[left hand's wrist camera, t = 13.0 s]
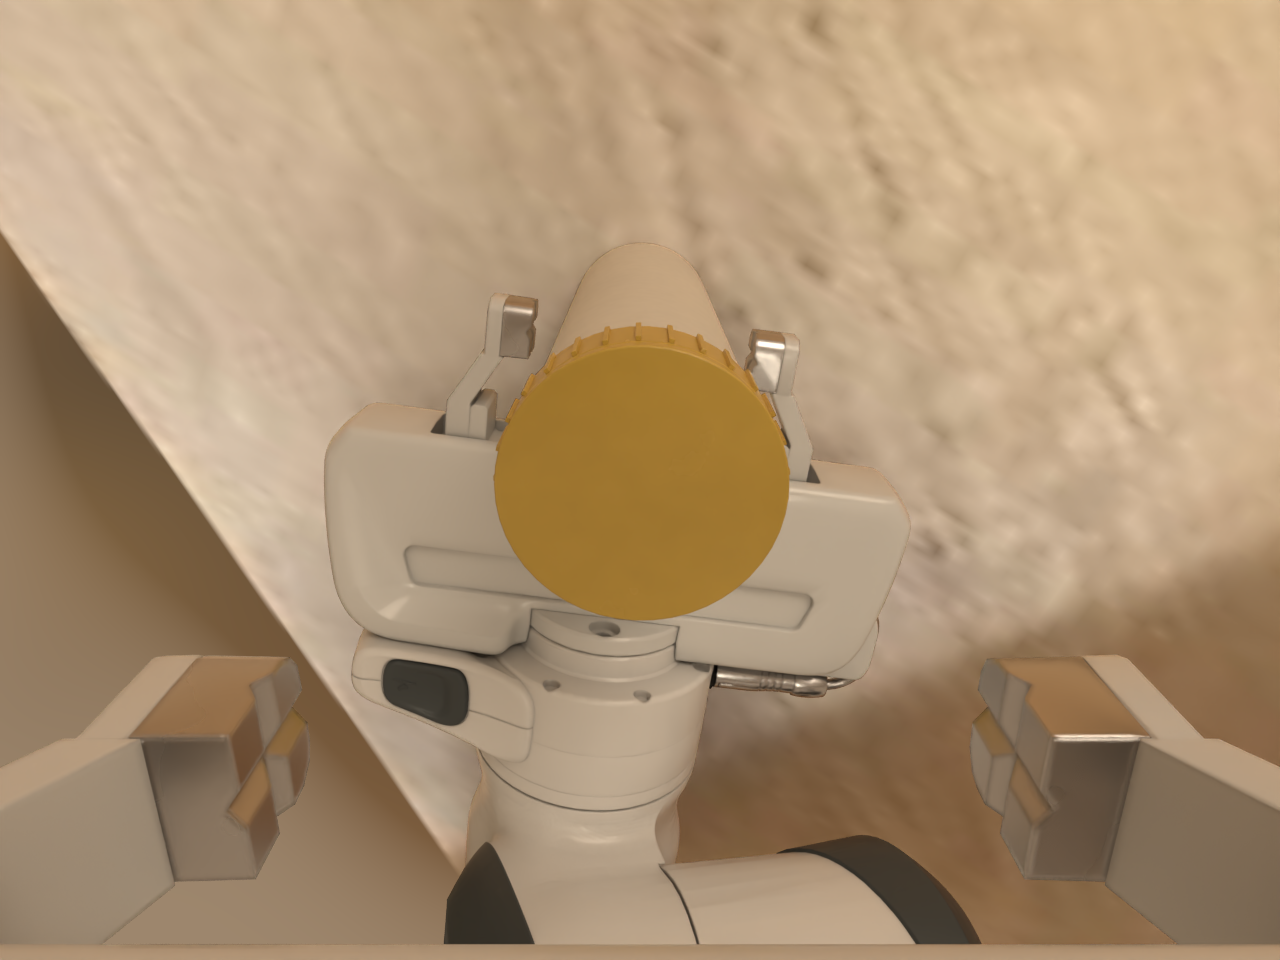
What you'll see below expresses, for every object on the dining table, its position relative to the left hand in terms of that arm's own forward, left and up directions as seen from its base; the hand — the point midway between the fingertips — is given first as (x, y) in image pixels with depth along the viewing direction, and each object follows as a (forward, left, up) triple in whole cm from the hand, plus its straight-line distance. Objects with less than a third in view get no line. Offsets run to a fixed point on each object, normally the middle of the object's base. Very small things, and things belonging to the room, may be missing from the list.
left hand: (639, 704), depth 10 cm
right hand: (0, +1, -21) cm, 21 cm away
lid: (0, 0, -7) cm, 7 cm away
